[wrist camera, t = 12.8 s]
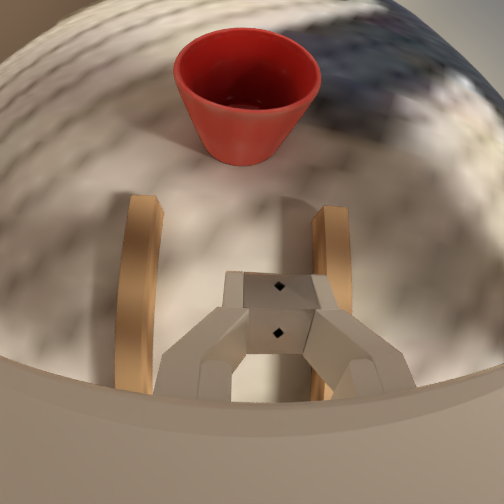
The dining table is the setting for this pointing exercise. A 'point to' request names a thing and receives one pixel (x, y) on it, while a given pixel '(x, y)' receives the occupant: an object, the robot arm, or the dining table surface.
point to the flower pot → (245, 91)
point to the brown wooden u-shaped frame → (145, 275)
